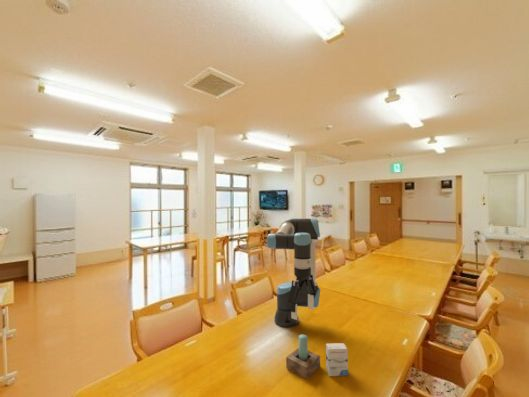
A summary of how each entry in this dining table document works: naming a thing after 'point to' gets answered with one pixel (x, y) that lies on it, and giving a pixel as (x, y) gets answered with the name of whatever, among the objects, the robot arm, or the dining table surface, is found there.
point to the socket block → (303, 363)
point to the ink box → (337, 359)
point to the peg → (303, 347)
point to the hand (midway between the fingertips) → (302, 313)
